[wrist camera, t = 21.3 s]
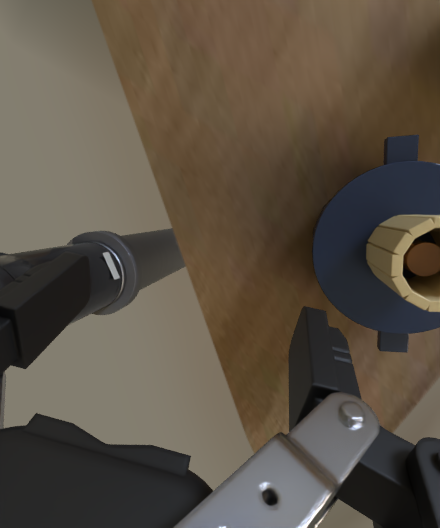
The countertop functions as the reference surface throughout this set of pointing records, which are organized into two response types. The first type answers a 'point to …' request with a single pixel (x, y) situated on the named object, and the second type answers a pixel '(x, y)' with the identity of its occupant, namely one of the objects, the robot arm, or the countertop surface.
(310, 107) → the countertop surface
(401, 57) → the countertop surface
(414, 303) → the pale yellow hollow cylinder
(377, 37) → the countertop surface
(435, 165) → the pot lid
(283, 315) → the countertop surface
